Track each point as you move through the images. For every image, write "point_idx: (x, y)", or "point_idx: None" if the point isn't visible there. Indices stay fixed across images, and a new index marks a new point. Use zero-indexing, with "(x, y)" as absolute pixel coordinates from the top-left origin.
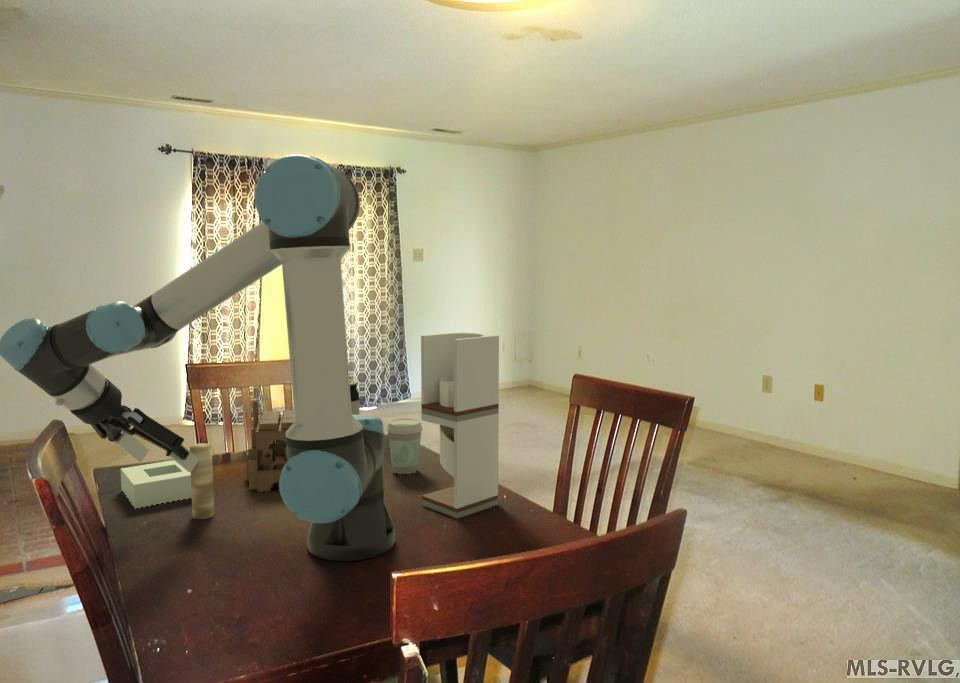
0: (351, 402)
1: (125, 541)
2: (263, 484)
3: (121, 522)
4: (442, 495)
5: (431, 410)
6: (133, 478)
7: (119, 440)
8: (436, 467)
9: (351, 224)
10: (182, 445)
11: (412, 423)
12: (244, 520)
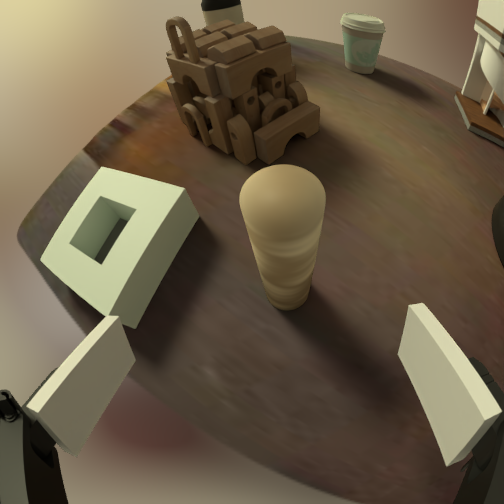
0: (239, 5)
1: (267, 455)
2: (275, 150)
3: (169, 392)
4: (479, 117)
5: None
6: (82, 287)
7: (64, 445)
8: None
9: None
10: (478, 377)
11: (373, 19)
12: (376, 264)
